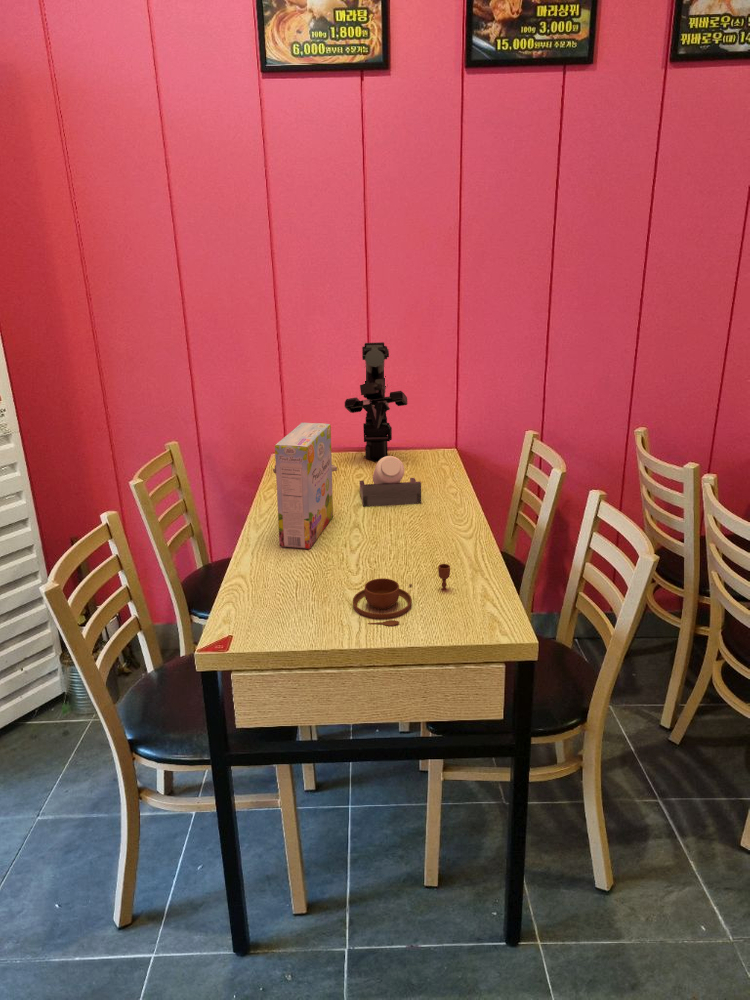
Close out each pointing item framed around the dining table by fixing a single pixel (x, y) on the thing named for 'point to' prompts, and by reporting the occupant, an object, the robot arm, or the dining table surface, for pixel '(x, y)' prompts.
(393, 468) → the pill bottle
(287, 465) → the snack box
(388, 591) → the place setting
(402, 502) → the dark wooden frame
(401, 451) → the dining table surface
